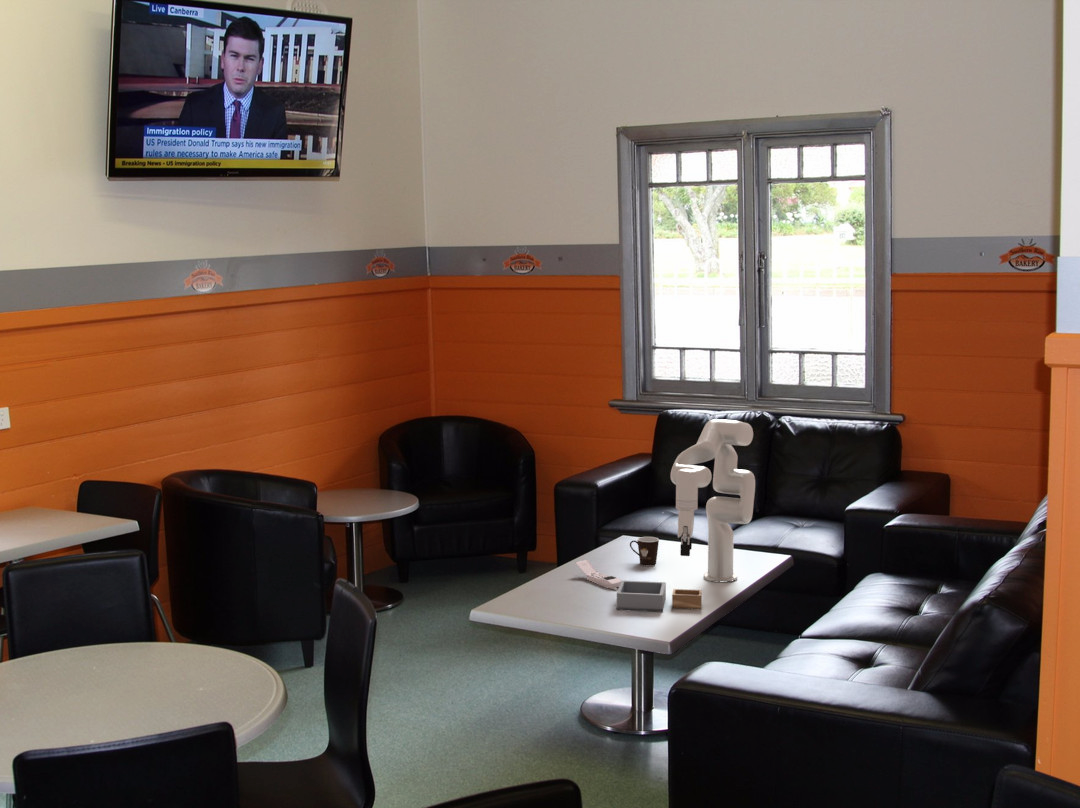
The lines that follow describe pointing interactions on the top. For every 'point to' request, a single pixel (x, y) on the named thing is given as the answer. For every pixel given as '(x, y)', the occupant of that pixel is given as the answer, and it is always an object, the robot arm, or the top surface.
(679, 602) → the box
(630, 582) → the grey open box
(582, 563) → the mobile phone
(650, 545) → the coffee mug
